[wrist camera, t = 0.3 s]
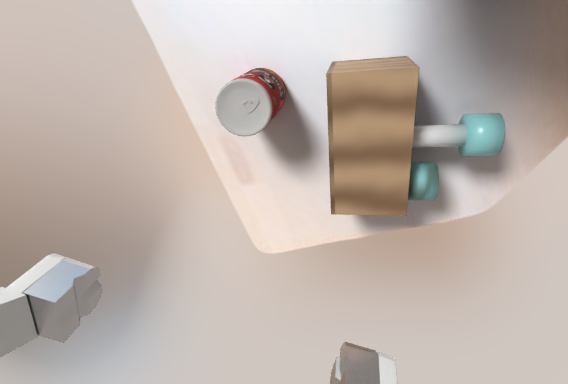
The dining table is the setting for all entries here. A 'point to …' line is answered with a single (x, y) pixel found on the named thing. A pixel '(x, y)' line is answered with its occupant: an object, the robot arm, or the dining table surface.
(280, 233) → the dining table surface
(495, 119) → the knob
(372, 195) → the block
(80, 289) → the robot arm
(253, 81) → the canned food
